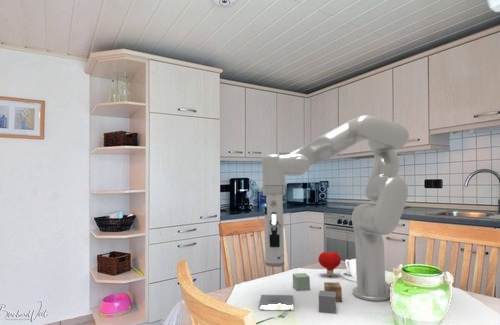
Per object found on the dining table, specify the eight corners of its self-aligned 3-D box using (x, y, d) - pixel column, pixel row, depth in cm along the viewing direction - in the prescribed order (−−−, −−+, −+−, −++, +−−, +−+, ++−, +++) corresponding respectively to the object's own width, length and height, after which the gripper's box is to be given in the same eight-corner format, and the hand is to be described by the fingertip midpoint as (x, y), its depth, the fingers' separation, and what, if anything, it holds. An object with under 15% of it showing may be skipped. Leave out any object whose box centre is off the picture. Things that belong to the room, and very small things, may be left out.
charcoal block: (336, 307, 101) (335, 291, 102) (335, 314, 97) (335, 297, 97) (320, 306, 103) (319, 290, 103) (319, 312, 98) (318, 295, 98)
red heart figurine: (320, 278, 132) (319, 254, 132) (317, 274, 138) (316, 250, 139) (343, 278, 131) (342, 253, 132) (339, 273, 138) (338, 250, 139)
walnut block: (339, 297, 111) (338, 282, 111) (341, 302, 106) (341, 287, 106) (324, 297, 111) (324, 282, 111) (326, 302, 106) (326, 287, 106)
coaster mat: (292, 298, 110) (292, 295, 110) (294, 310, 99) (294, 307, 99) (261, 297, 111) (261, 294, 111) (258, 310, 100) (258, 307, 100)
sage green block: (305, 286, 123) (305, 272, 123) (309, 290, 118) (309, 276, 118) (293, 287, 122) (292, 273, 123) (297, 291, 117) (296, 277, 118)
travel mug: (284, 267, 102) (282, 204, 104) (264, 266, 104) (262, 204, 105) (286, 262, 108) (284, 203, 110) (266, 262, 110) (265, 203, 111)
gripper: (285, 191, 99) (286, 250, 97) (284, 190, 116) (286, 240, 115) (261, 191, 99) (262, 250, 98) (264, 190, 117) (265, 240, 115)
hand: (275, 244), depth 106 cm, fingers closed on travel mug, 6 cm apart
